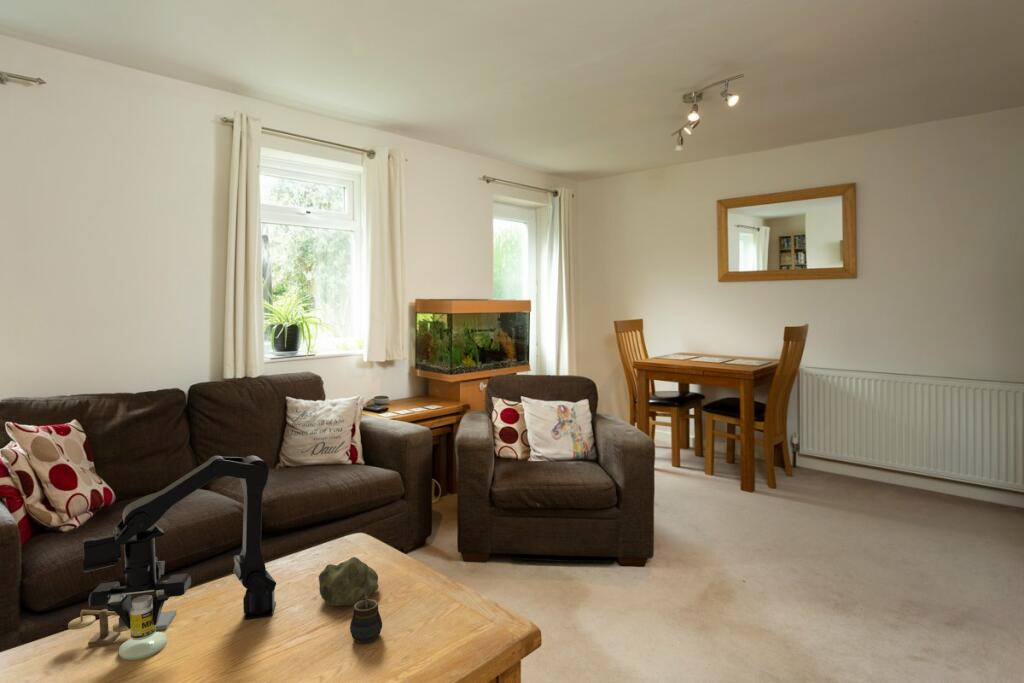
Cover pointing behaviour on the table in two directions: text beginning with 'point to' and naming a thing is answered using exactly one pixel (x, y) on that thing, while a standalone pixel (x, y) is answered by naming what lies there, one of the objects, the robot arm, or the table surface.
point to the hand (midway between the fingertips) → (143, 625)
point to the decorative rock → (347, 582)
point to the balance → (104, 634)
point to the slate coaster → (165, 619)
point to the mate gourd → (365, 621)
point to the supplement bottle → (142, 617)
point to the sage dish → (142, 647)
